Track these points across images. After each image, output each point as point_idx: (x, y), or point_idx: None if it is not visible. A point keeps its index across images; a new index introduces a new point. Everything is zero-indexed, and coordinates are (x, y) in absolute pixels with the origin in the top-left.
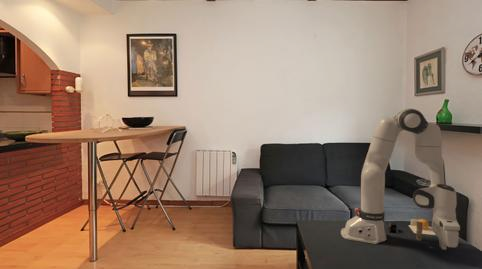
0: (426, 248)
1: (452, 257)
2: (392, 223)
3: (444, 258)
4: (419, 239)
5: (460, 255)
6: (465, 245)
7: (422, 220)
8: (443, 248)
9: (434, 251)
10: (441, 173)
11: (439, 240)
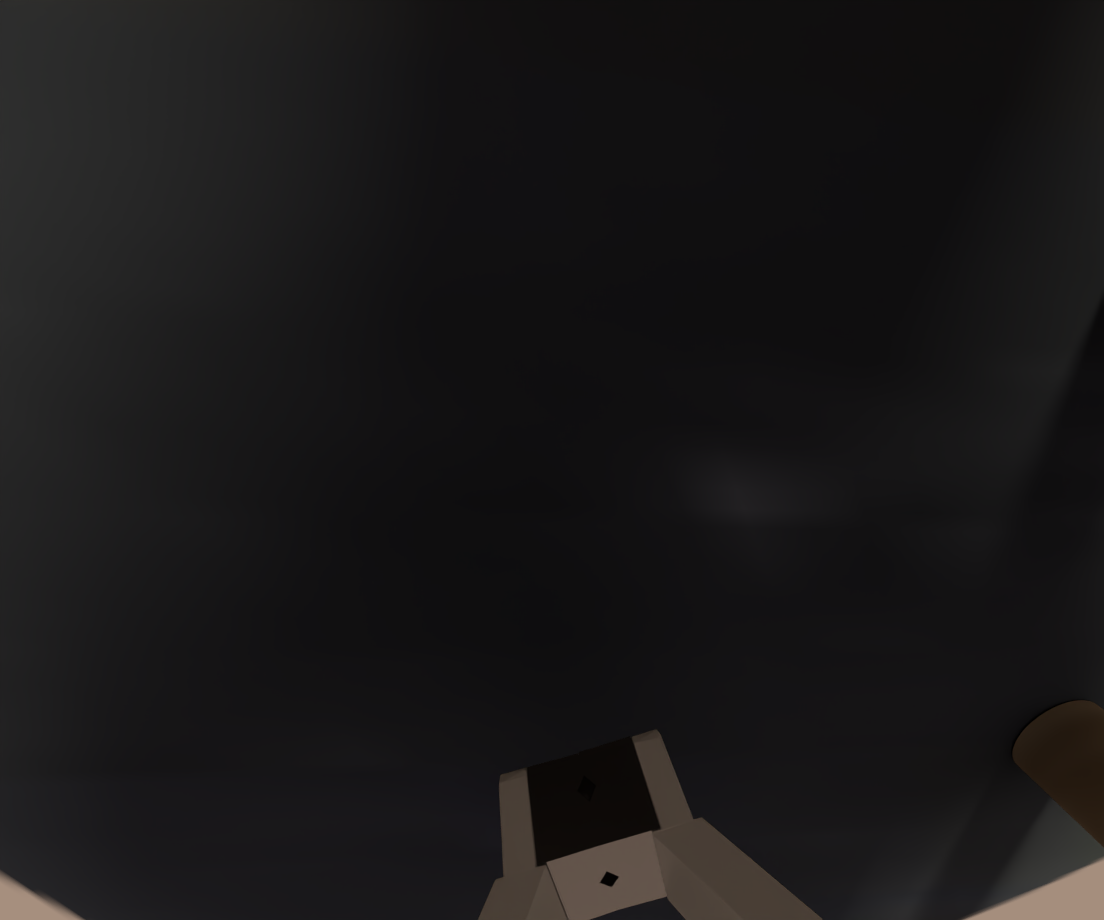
0: (605, 405)
1: (355, 825)
2: None
3: (183, 733)
4: None
5: None
6: (947, 901)
7: None
8: (510, 811)
9: (493, 569)
10: None
11: (736, 914)
